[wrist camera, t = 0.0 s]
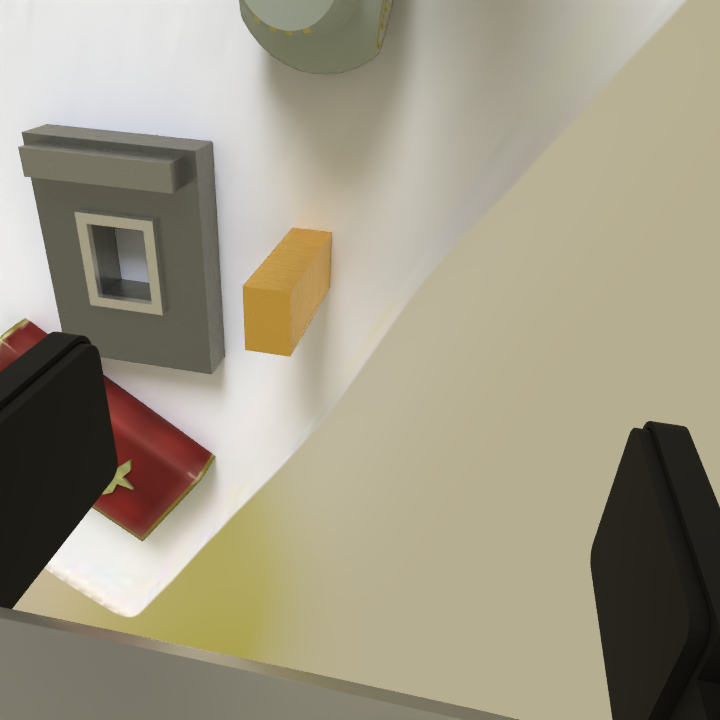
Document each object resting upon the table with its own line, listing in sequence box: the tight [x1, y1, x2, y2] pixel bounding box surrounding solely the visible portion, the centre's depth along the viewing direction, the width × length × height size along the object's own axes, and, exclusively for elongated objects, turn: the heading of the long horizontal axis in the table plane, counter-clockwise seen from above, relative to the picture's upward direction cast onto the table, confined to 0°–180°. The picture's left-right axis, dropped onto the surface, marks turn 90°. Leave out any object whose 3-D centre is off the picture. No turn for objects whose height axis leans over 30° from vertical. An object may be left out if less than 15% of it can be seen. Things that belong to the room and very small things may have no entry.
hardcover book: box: [0, 318, 215, 541], centre depth 62 cm, size 12×21×4 cm, turn 51°
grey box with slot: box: [18, 124, 225, 374], centre depth 50 cm, size 18×13×5 cm
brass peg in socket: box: [243, 228, 331, 356], centre depth 46 cm, size 4×3×11 cm, turn 177°
